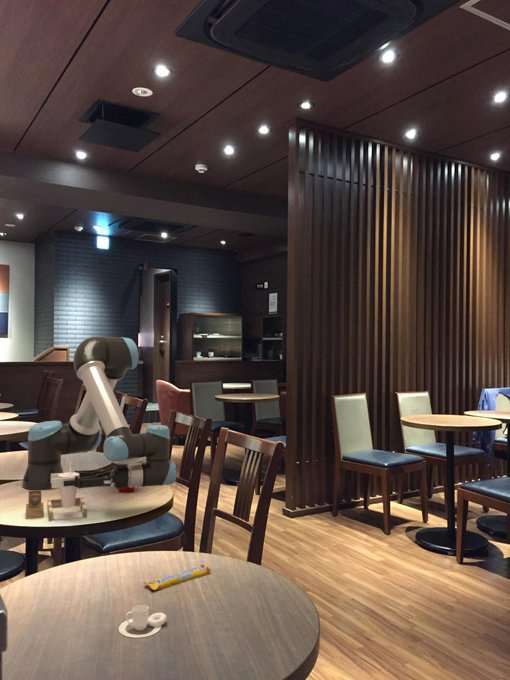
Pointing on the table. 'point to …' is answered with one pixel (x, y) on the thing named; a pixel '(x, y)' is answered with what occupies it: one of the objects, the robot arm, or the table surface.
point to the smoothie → (68, 489)
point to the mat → (67, 515)
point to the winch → (34, 505)
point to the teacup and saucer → (142, 621)
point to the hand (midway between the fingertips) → (51, 481)
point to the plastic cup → (128, 461)
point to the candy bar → (178, 578)
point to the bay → (58, 503)
